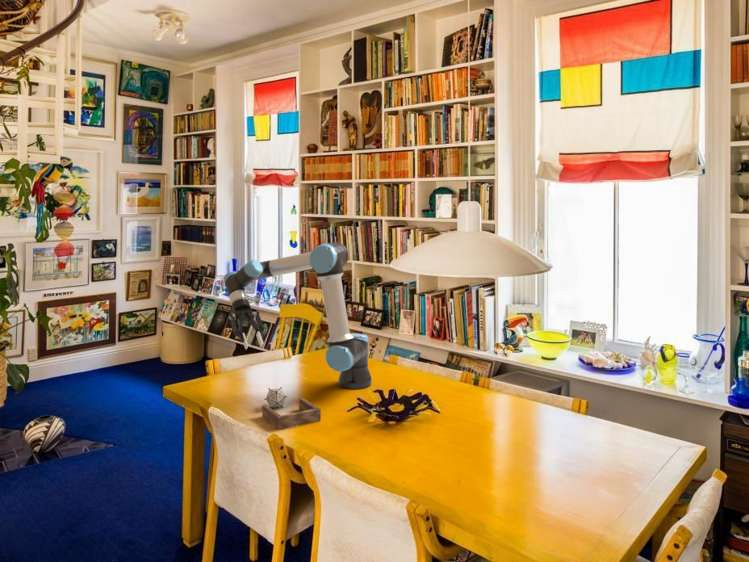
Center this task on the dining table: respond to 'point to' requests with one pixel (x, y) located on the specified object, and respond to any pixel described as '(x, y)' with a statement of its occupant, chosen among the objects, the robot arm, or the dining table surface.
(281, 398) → the grey spiked ball
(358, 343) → the robot arm
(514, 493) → the dining table surface
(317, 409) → the shallow brown tray
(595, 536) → the dining table surface
